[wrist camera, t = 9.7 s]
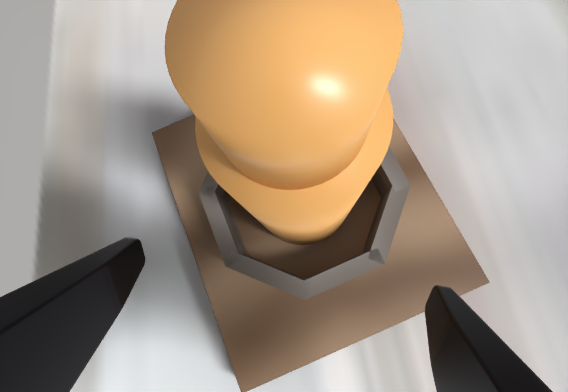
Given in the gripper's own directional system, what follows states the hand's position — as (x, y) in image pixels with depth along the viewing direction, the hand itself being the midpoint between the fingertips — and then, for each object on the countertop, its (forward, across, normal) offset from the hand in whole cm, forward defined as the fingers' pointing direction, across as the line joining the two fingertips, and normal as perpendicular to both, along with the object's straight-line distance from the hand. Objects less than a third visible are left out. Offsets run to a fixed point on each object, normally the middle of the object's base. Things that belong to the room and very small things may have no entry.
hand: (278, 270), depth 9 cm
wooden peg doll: (+8, 0, +3) cm, 9 cm away
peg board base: (+9, 0, +4) cm, 10 cm away
